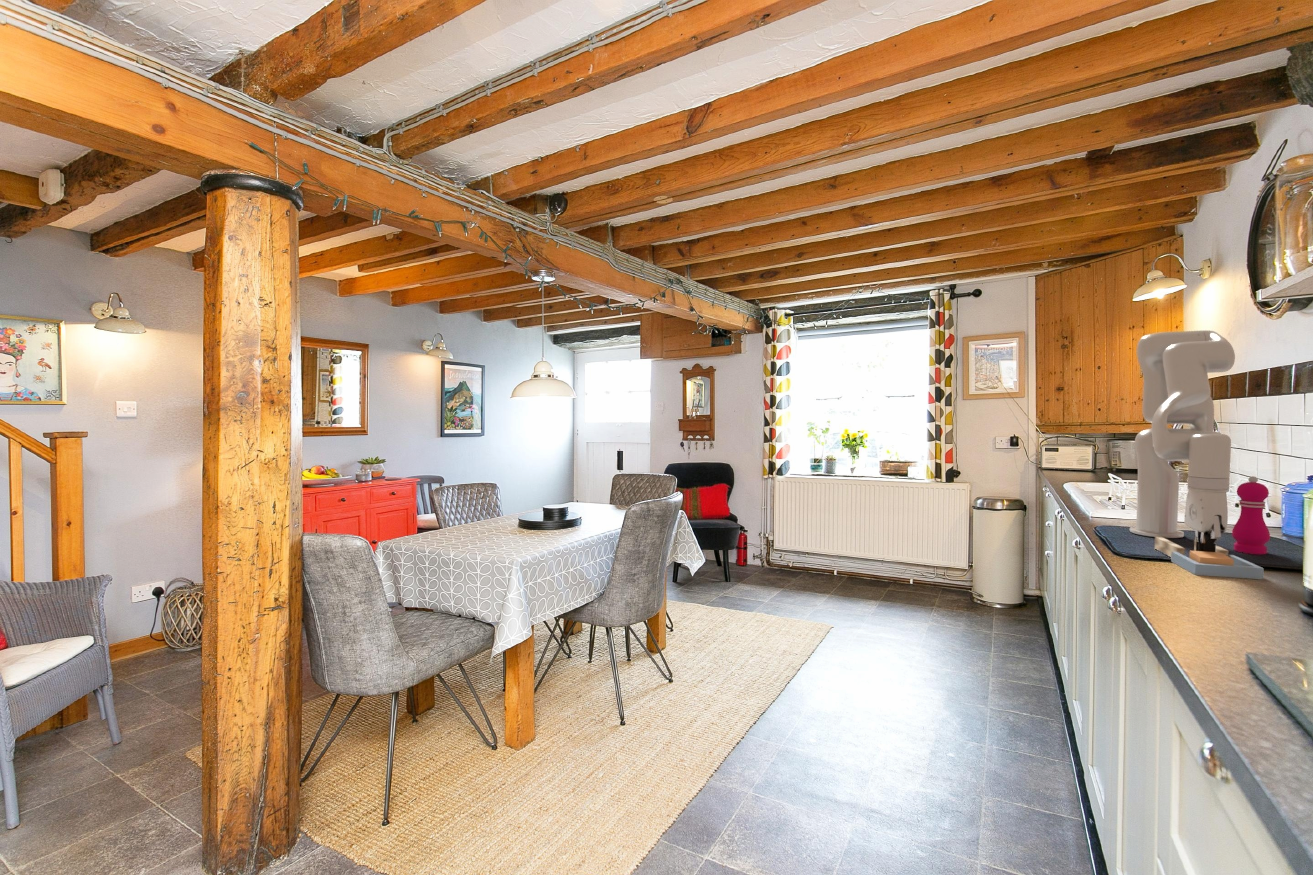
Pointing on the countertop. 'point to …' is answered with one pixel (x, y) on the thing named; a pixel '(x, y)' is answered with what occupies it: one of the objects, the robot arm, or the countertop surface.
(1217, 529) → the robot arm
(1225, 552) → the pair of wooden slats
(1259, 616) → the countertop surface
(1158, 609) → the countertop surface
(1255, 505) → the pepper mill
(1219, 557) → the block
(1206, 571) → the bay
